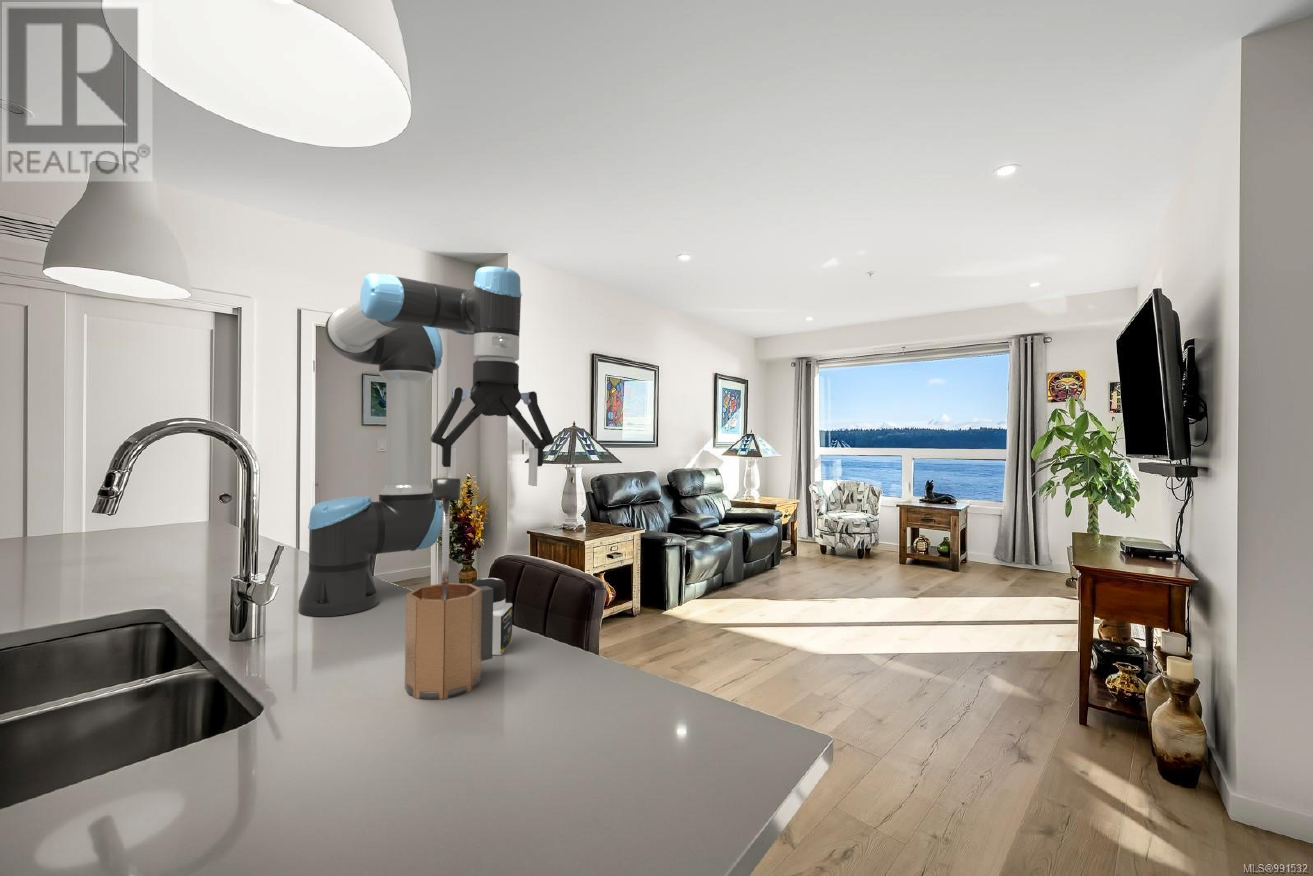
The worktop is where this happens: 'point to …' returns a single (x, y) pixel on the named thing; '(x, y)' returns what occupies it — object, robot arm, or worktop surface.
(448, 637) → the press carafe
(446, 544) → the plunger
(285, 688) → the worktop surface
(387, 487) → the robot arm
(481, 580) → the medicine bottle
